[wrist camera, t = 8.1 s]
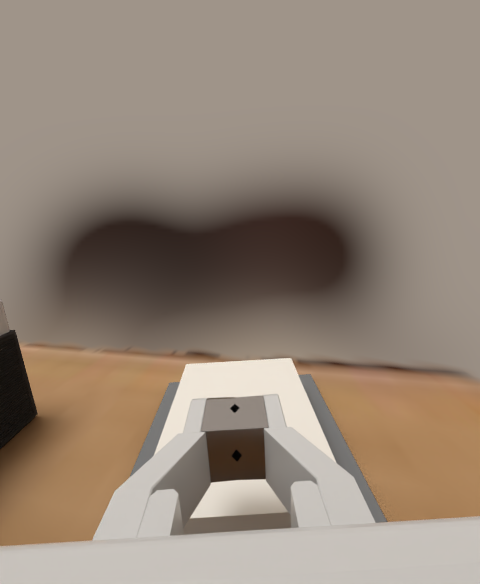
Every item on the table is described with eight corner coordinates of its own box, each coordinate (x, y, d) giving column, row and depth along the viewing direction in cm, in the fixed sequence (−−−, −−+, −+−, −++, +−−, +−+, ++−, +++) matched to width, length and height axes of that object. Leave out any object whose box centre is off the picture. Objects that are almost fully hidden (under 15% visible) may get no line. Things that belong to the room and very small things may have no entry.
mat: (-72, 978, 5) (-80, 969, 5) (170, 386, 22) (169, 382, 22) (588, 928, 5) (594, 919, 5) (310, 378, 22) (310, 374, 22)
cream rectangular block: (130, 522, 9) (186, 364, 20) (140, 573, 10) (189, 393, 20) (356, 507, 9) (290, 358, 20) (352, 560, 10) (291, 387, 20)
